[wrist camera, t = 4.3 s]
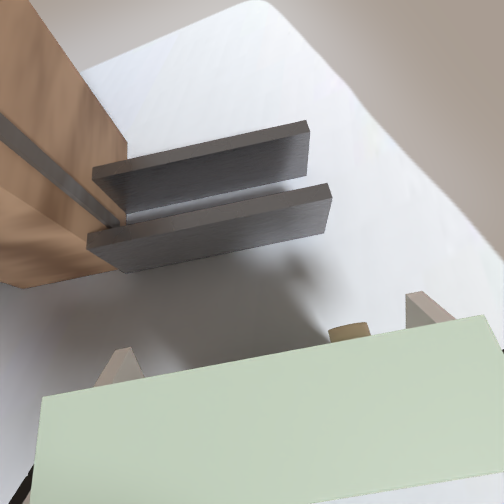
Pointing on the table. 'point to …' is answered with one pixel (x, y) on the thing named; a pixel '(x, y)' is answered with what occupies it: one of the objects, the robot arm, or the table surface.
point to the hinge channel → (204, 185)
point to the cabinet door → (285, 424)
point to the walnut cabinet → (49, 157)
